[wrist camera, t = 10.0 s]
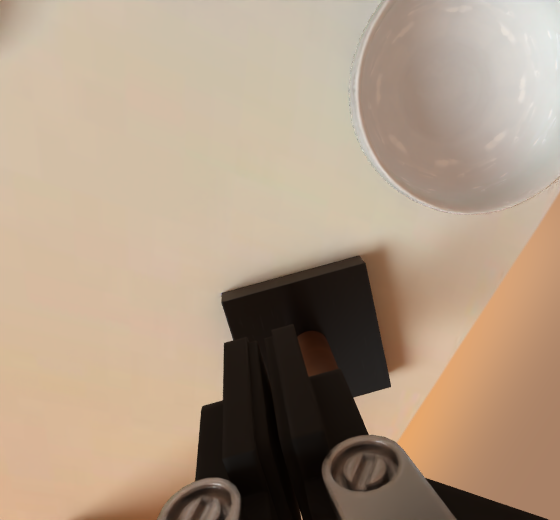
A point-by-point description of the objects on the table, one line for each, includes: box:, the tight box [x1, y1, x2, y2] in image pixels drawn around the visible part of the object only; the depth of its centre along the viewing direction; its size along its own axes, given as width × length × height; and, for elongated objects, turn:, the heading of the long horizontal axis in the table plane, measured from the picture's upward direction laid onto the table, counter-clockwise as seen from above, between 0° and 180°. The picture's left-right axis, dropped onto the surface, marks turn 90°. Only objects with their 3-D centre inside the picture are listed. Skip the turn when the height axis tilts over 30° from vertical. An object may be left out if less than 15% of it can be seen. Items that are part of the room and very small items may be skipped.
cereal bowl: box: [349, 0, 560, 215], centre depth 35 cm, size 17×17×7 cm
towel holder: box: [221, 256, 391, 397], centre depth 38 cm, size 18×12×12 cm
